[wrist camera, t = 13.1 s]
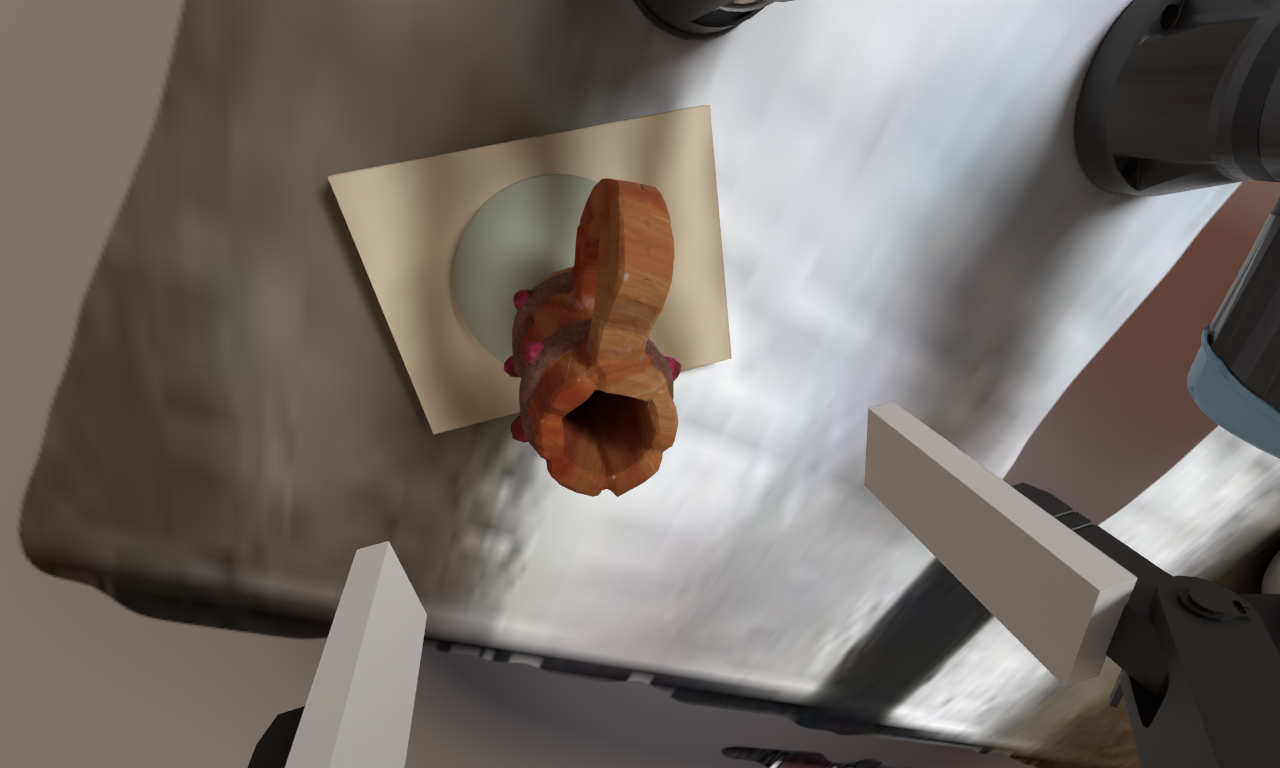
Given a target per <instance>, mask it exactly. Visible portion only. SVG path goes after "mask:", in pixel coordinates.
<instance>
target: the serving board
mask: <svg viewBox="0 0 1280 768" xmlns="http://www.w3.org/2000/svg"><path fill="white" fill-rule="evenodd" d="M605 178H608V179H616V180H623V181H629V182H635V183H639V184H645V185H649V186H653V187H656V188H657V189H658V191H659V192H660V193H661V194H662V197H663V199H664V201H665V203H666V206H667V209H668V213H669V216H670V222H671V229H672V234H673V238H674V263H673V275H672V283H671V286H670V289H669V292H668V295H667V298H666V301H665V304H664V307H663V309H662V311H661V313H660V315H659V317H658V318H657V320H656V322H655V324H654V325H653V327H652V329H651V331H650V334H649V337H648V338H649V339H650V340H651V341H652V342H653V343H654V344H655V346H656V347H657V348H658V350H659V351H660V353H661V354H662V355H663V356H665V357H672V358H674V359H675V360H677V361H678V362H679V363H680V364H681V370H680V371H684V370H688V369H692V368H696V367H700V366H704V365H708V364H712V363H716V362H719V361H723V360H727V359H731V358H732V357H731V345H730V334H729V322H728V311H727V299H726V288H725V276H724V264H723V253H722V241H721V230H720V218H719V207H718V195H717V183H716V172H715V160H714V149H713V137H712V126H711V114H710V105H701V106H696V107H690V108H685V109H680V110H674V111H669V112H664V113H659V114H653V115H648V116H643V117H637V118H632V119H627V120H621V121H616V122H611V123H605V124H600V125H595V126H589V127H584V128H579V129H573V130H568V131H563V132H557V133H552V134H547V135H541V136H536V137H531V138H525V139H520V140H515V141H509V142H504V143H499V144H493V145H488V146H483V147H478V148H472V149H467V150H462V151H456V152H451V153H446V154H440V155H435V156H430V157H424V158H419V159H414V160H408V161H403V162H398V163H392V164H387V165H382V166H376V167H371V168H366V169H360V170H355V171H350V172H344V173H339V174H334V175H331V176H329V177H328V179H329V181H330V184H331V186H332V189H333V191H334V194H335V196H336V198H337V201H338V203H339V206H340V208H341V211H342V213H343V215H344V218H345V220H346V223H347V225H348V228H349V230H350V232H351V235H352V237H353V240H354V242H355V245H356V247H357V249H358V252H359V254H360V257H361V259H362V262H363V264H364V266H365V269H366V271H367V274H368V276H369V279H370V281H371V283H372V286H373V288H374V291H375V293H376V296H377V298H378V300H379V303H380V305H381V308H382V310H383V313H384V315H385V318H386V320H387V322H388V325H389V327H390V330H391V332H392V335H393V337H394V339H395V342H396V344H397V347H398V349H399V352H400V354H401V356H402V359H403V361H404V364H405V366H406V369H407V371H408V373H409V376H410V378H411V381H412V383H413V386H414V388H415V390H416V393H417V395H418V398H419V400H420V403H421V405H422V407H423V410H424V412H425V415H426V417H427V420H428V422H429V424H430V427H431V429H432V432H433V434H437V433H441V432H445V431H449V430H453V429H457V428H461V427H465V426H469V425H473V424H477V423H480V422H484V421H488V420H492V419H496V418H500V417H504V416H508V415H512V414H516V413H520V405H519V387H520V382H521V378H518V377H510V376H509V375H508V374H507V373H506V372H505V371H504V362H505V361H506V360H507V359H508V358H509V357H510V356H512V355H513V353H512V328H513V324H514V319H515V315H516V313H517V311H518V310H517V309H516V307H515V305H514V302H513V297H514V295H515V293H516V292H518V291H520V290H526V289H527V290H532V289H533V288H534V287H535V286H537V285H538V284H539V283H540V282H541V281H542V280H543V279H545V278H546V277H548V276H549V275H550V274H552V273H553V272H558V271H561V270H563V269H566V268H569V267H573V266H574V261H575V247H576V234H577V227H578V226H579V224H580V218H581V216H582V213H583V210H584V207H585V205H586V202H587V200H588V198H589V196H590V193H591V191H592V189H593V187H594V186H595V185H596V184H597V183H598V182H599V181H600V180H601V179H605Z"/></svg>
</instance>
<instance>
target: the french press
mask: <svg viewBox="0 0 1280 768" xmlns="http://www.w3.org/2000/svg"><path fill="white" fill-rule="evenodd" d="M633 1H634V2H635V3H636V5H637V6H638V7H639V9H640V10H641V11H642V13H643V14H644V15H645V16H646V17H647V18H648V19H649V20H650V21H651V22H653V23H654V24H655V25H656V26H657V27H658V28H660V29H662V30H664V31H665V32H667V33H669V34H671V35H673V36H677V37H680V38H683V39H689V40H704V39H709V38H715V37H718V36H720V35H722V34H724V33H727V32H729V31H731V30H732V29H734V28H735V27H737V26H738V25H739V24H741V23H742V22H743V21H745V20H747V19H750V18H751V17H753V16H754V15H755V14H757V13H758V12H759V11H761V10H762V9H763V8H764V7H765V6H767V5H769V4H771V3H773V2H775V1H776V2H787V1H792V0H633ZM717 8H719V9H717ZM715 9H717V10H715ZM713 10H715V11H713Z"/></svg>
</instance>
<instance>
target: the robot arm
mask: <svg viewBox="0 0 1280 768" xmlns="http://www.w3.org/2000/svg"><path fill="white" fill-rule="evenodd" d="M1076 146H1077V152H1078V156H1079V160H1080V163H1081V165H1082V168H1083V170H1084V171H1085V173H1086V175H1087V176H1088V177H1089V179H1090V180H1091V181H1092V182H1093V183H1094V184H1095V185H1097V186H1098V187H1100V188H1102V189H1104V190H1106V191H1109V192H1113V193H1120V194H1128V195H1136V196H1159V195H1166V194H1172V193H1177V192H1183V191H1189V190H1195V189H1201V188H1207V187H1212V186H1218V185H1224V184H1230V183H1236V182H1242V181H1247V180H1254V181H1268V182H1280V0H1135V1H1134V2H1133V3H1132V4H1131V5H1130V6H1129V7H1128V8H1127V9H1126V11H1125V12H1124V13H1123V14H1122V15H1121V17H1120V18H1119V19H1118V21H1117V22H1116V23H1115V25H1114V26H1113V28H1112V29H1111V31H1110V32H1109V34H1108V35H1107V37H1106V39H1105V40H1104V42H1103V44H1102V45H1101V47H1100V49H1099V51H1098V53H1097V55H1096V57H1095V59H1094V61H1093V63H1092V65H1091V68H1090V70H1089V73H1088V75H1087V78H1086V81H1085V84H1084V86H1083V90H1082V93H1081V97H1080V101H1079V106H1078V112H1077V119H1076ZM1201 342H1202V345H1201V348H1200V349H1199V352H1198V354H1197V356H1196V358H1195V360H1194V363H1193V365H1192V367H1191V369H1190V371H1189V374H1188V381H1187V384H1188V389H1189V391H1190V394H1191V395H1192V397H1193V399H1194V400H1195V401H1196V404H1197V405H1198V407H1199V408H1200V409H1201V410H1202V411H1203V412H1204V413H1205V414H1206V415H1207V416H1208V417H1209V418H1211V419H1212V420H1213V421H1214V422H1216V423H1217V424H1218V425H1220V426H1221V427H1223V428H1224V429H1225V430H1227V431H1229V432H1230V433H1232V434H1233V435H1235V436H1237V437H1238V438H1240V439H1242V440H1243V441H1245V442H1247V443H1249V444H1251V445H1253V446H1255V447H1256V448H1258V449H1261V450H1263V451H1265V452H1267V453H1269V454H1271V455H1273V456H1275V457H1277V458H1279V459H1280V197H1279V199H1278V201H1277V203H1276V205H1275V207H1274V209H1273V210H1272V212H1271V214H1270V216H1269V217H1268V219H1267V221H1266V223H1265V225H1264V227H1263V229H1262V231H1261V233H1260V235H1259V236H1258V238H1257V240H1256V242H1255V244H1254V246H1253V248H1252V250H1251V252H1250V253H1249V255H1248V257H1247V259H1246V261H1245V263H1244V265H1243V266H1242V268H1241V270H1240V272H1239V274H1238V275H1237V277H1236V279H1235V281H1234V283H1233V284H1232V286H1231V288H1230V290H1229V292H1228V294H1227V296H1226V297H1225V299H1224V301H1223V303H1222V304H1221V306H1220V308H1219V310H1218V312H1217V314H1216V315H1215V317H1214V319H1213V321H1212V322H1211V323H1210V324H1209V325H1208V326H1207V327H1206V328H1205V330H1204V331H1203V334H1202V340H1201ZM865 486H866V487H867V488H868V489H869V490H870V491H871V492H872V493H873V494H874V495H875V496H876V497H877V498H878V499H879V500H880V501H881V502H882V503H883V504H884V505H885V506H886V507H887V508H888V509H889V510H890V511H891V512H892V513H893V514H894V515H895V516H896V517H897V518H898V519H899V520H900V521H901V522H902V523H903V524H904V525H905V526H906V527H907V528H908V529H909V530H910V531H911V532H912V533H913V534H914V535H915V536H916V537H917V538H918V539H919V540H920V541H921V542H922V543H923V544H924V545H925V546H926V547H927V548H928V549H929V551H930V552H931V553H932V554H933V555H934V556H935V557H936V558H937V559H938V560H939V561H940V562H941V563H942V564H943V565H944V566H945V567H946V568H947V569H948V570H949V571H950V572H951V573H952V574H953V575H954V576H955V577H956V578H957V579H958V580H959V581H960V582H961V583H962V584H963V585H964V586H965V587H966V588H967V589H968V590H969V591H970V592H971V593H972V594H973V595H974V596H975V597H976V598H977V599H978V600H979V601H980V602H981V603H982V604H983V605H984V606H985V607H986V608H987V609H988V610H989V611H990V612H991V613H992V614H993V615H994V616H995V617H996V618H997V619H998V620H999V621H1000V622H1001V623H1002V624H1003V625H1004V626H1005V627H1006V628H1007V629H1008V630H1009V631H1010V632H1011V633H1012V634H1013V635H1014V636H1015V637H1016V638H1017V639H1018V640H1019V641H1020V642H1021V643H1022V644H1023V645H1024V646H1025V647H1026V648H1027V649H1028V650H1029V651H1030V652H1031V653H1032V654H1033V655H1034V656H1035V657H1036V658H1037V659H1038V660H1039V661H1040V662H1041V663H1042V664H1043V665H1044V666H1045V667H1046V668H1047V669H1048V670H1049V671H1050V672H1051V673H1052V674H1053V675H1054V676H1055V677H1056V678H1057V679H1058V680H1059V681H1060V682H1061V684H1062V685H1063V686H1064V687H1068V686H1071V685H1073V684H1076V683H1079V682H1082V681H1084V680H1087V679H1090V678H1092V677H1095V676H1098V675H1099V673H1100V671H1101V668H1102V666H1103V663H1104V661H1105V658H1106V656H1108V657H1109V658H1111V659H1112V660H1113V661H1114V662H1115V663H1116V664H1117V665H1118V666H1120V667H1121V668H1122V670H1121V672H1120V674H1119V677H1118V679H1117V681H1116V684H1115V686H1114V688H1113V691H1112V693H1111V695H1110V706H1113V707H1116V708H1117V707H1118V705H1119V703H1120V700H1121V698H1122V696H1124V700H1125V704H1126V709H1127V713H1128V717H1129V721H1130V725H1131V729H1132V733H1133V737H1134V741H1135V745H1136V749H1137V753H1138V757H1139V761H1140V765H1141V768H1280V594H1236V593H1235V592H1233V591H1231V590H1229V589H1227V588H1225V587H1223V586H1221V585H1218V584H1216V583H1214V582H1210V581H1207V580H1204V579H1200V578H1197V577H1188V576H1174V577H1173V576H1172V575H1170V574H1168V573H1167V572H1165V571H1163V570H1162V569H1160V568H1159V567H1157V566H1156V565H1154V564H1153V563H1152V562H1150V561H1149V560H1147V559H1146V558H1144V557H1143V556H1141V555H1140V554H1138V553H1137V552H1135V551H1134V550H1132V549H1131V548H1130V547H1128V546H1127V545H1125V544H1124V543H1122V542H1121V541H1119V540H1118V539H1116V538H1115V537H1113V536H1112V535H1110V534H1109V533H1108V532H1106V531H1105V530H1103V529H1102V528H1100V527H1099V526H1097V525H1093V524H1092V523H1091V521H1090V520H1089V519H1087V518H1086V517H1084V516H1082V515H1081V514H1080V513H1078V512H1076V513H1075V512H1074V511H1073V509H1072V508H1071V507H1069V506H1068V505H1066V504H1065V503H1064V502H1062V501H1061V500H1059V499H1058V498H1056V497H1055V496H1053V495H1052V494H1050V493H1048V492H1045V491H1043V490H1040V489H1038V488H1036V487H1033V486H1030V485H1028V484H1026V483H1020V484H1017V485H1014V486H1009V485H1008V484H1007V483H1006V482H1004V481H1003V480H1001V479H1000V478H999V477H997V476H996V475H994V474H993V473H992V472H990V471H989V470H988V469H986V468H985V467H983V466H982V465H981V464H979V463H978V462H976V461H975V460H974V459H972V458H971V457H970V456H968V455H967V454H965V453H964V452H963V451H961V450H960V449H958V448H957V447H956V446H954V445H953V444H951V443H950V442H949V441H947V440H946V439H945V438H943V437H942V436H940V435H939V434H938V433H936V432H935V431H933V430H932V429H931V428H929V427H928V426H927V425H925V424H924V423H922V422H921V421H920V420H918V419H917V418H915V417H914V416H913V415H911V414H910V413H909V412H907V411H906V410H904V409H903V408H902V407H900V406H899V405H897V404H896V403H895V402H889V403H886V404H882V405H878V406H875V407H871V408H868V428H867V448H866V467H865ZM426 618H427V614H426V612H425V610H424V608H423V606H422V604H421V602H420V601H419V599H418V597H417V595H416V593H415V591H414V589H413V587H412V585H411V583H410V581H409V579H408V577H407V575H406V574H405V572H404V570H403V568H402V566H401V564H400V562H399V560H398V558H397V556H396V554H395V552H394V550H393V548H392V547H391V545H390V543H389V541H387V542H383V543H380V544H376V545H372V546H369V547H365V548H362V549H358V550H357V551H356V554H355V557H354V560H353V563H352V566H351V569H350V572H349V575H348V578H347V581H346V584H345V587H344V590H343V593H342V596H341V599H340V602H339V605H338V608H337V611H336V614H335V617H334V620H333V623H332V626H331V629H330V632H329V635H328V639H327V642H326V645H325V648H324V651H323V654H322V657H321V660H320V663H319V666H318V669H317V672H316V675H315V678H314V681H313V684H312V687H311V690H310V693H309V696H308V699H307V702H306V705H305V706H304V707H301V708H298V709H294V710H292V711H288V712H285V713H282V714H279V715H277V717H276V718H275V719H274V721H273V722H272V724H271V725H270V727H269V728H268V729H267V731H266V732H265V734H264V735H263V737H262V738H261V739H260V741H259V742H258V743H257V745H256V747H255V750H254V753H253V755H252V758H251V760H250V763H249V765H248V768H405V762H406V755H407V748H408V741H409V734H410V728H411V721H412V714H413V707H414V699H415V693H416V686H417V680H418V673H419V666H420V659H421V652H422V646H423V639H424V632H425V625H426Z"/></svg>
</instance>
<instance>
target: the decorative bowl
mask: <svg viewBox="0 0 1280 768" xmlns="http://www.w3.org/2000/svg"><path fill="white" fill-rule="evenodd" d="M1261 593H1262V594H1280V550H1279V551H1278V553H1277V554H1276V555H1275V556H1274V558H1273V559H1272V561H1271V562H1270V564H1269V565H1268V567H1267V570H1266V572H1265V574H1264V577H1263V581H1262V591H1261Z"/></svg>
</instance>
